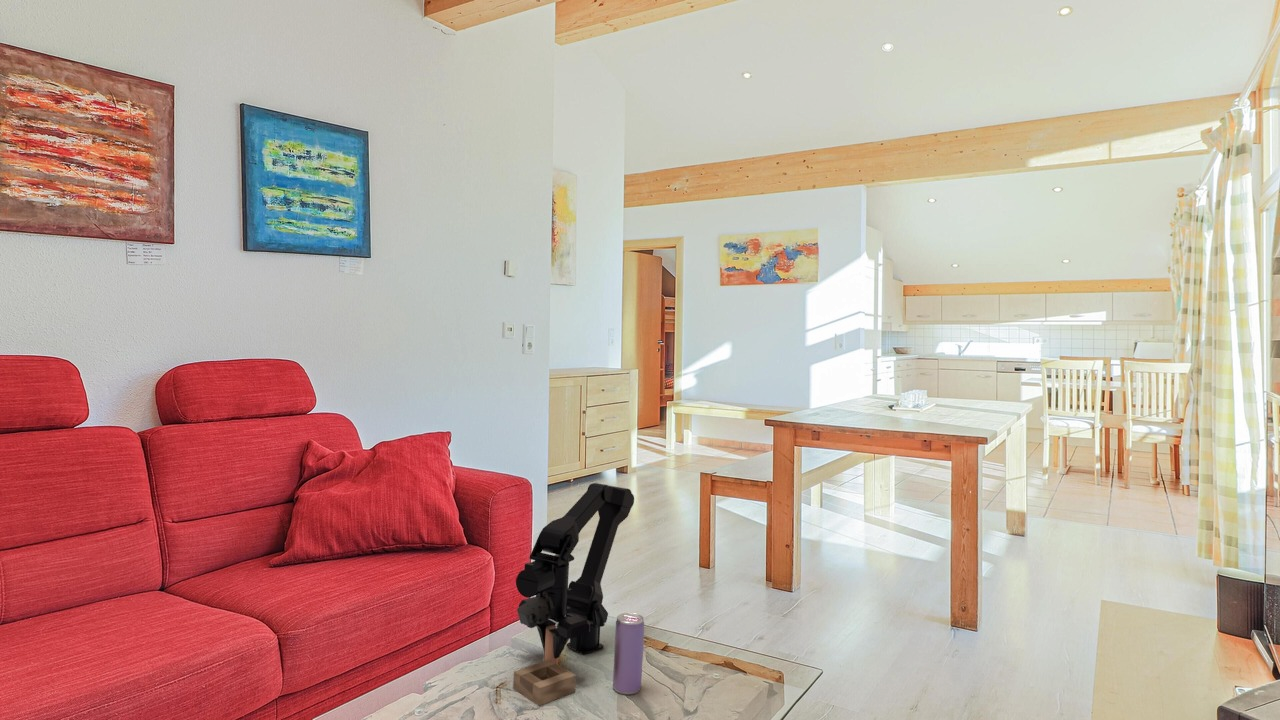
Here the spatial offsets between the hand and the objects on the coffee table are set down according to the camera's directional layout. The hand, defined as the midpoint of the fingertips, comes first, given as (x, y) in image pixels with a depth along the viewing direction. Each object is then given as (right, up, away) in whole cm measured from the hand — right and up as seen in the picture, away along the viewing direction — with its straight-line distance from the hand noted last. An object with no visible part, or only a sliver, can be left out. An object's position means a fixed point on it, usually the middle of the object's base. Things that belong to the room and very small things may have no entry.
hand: (551, 655), depth 159 cm
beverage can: (+17, -4, -7) cm, 19 cm away
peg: (0, -3, 0) cm, 3 cm away
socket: (0, -3, -10) cm, 10 cm away
